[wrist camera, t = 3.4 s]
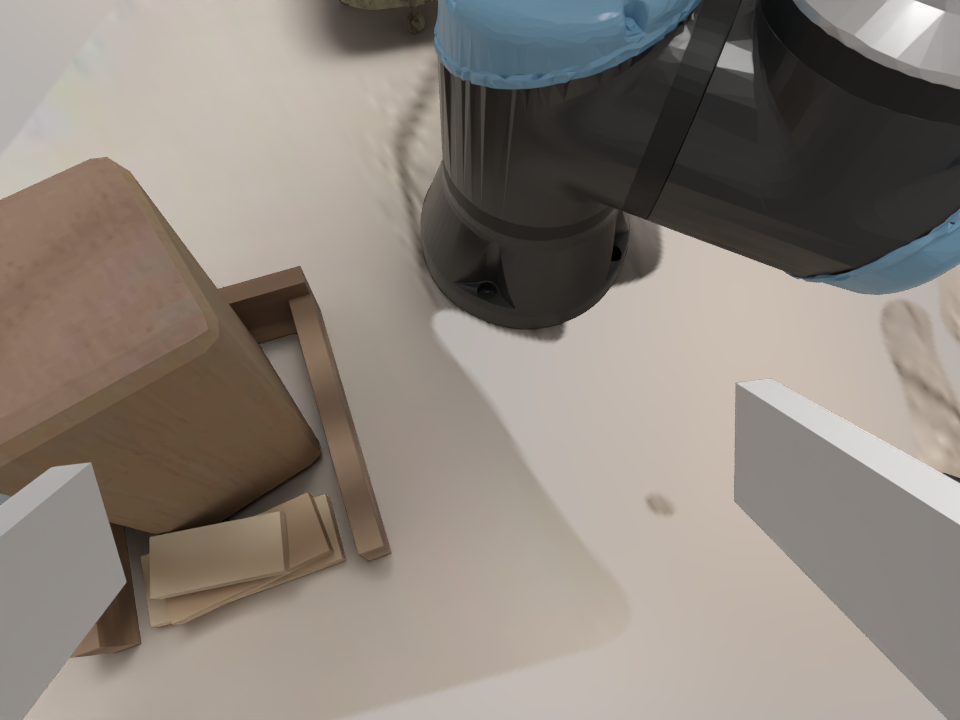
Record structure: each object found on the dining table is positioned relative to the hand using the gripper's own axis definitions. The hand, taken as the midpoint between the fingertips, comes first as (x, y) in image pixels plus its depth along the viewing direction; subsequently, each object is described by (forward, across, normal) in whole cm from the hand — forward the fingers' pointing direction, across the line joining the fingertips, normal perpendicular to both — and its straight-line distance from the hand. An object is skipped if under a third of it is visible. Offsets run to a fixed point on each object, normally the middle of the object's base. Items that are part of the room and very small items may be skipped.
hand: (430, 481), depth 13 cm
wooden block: (+28, -14, -9) cm, 32 cm away
